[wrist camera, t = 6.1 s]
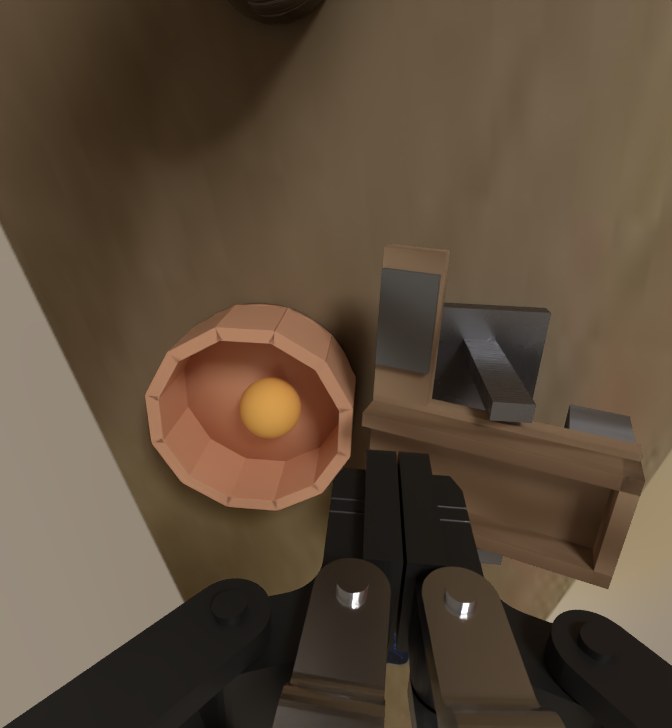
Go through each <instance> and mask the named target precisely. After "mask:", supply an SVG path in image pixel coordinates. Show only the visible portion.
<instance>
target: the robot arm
mask: <svg viewBox="0 0 672 728" xmlns="http://www.w3.org/2000/svg"><path fill="white" fill-rule="evenodd" d="M395 634H396V651H399V652H409V663H410V675H409V682H408V689H407V692H408V702H409V710H410V718H411V725H412V728H672V666H671V665H670V664H669V663H667V662H666V661H665V660H663V659H662V658H661V657H659V656H658V655H657V654H656V653H654V652H653V651H652V650H650V649H649V648H648V647H646V646H645V645H644V644H643V643H641V642H640V641H638V640H637V639H636V638H635V637H633V636H632V635H631V634H629V633H628V632H627V631H625V630H624V629H623V628H622V627H620V626H619V625H617V624H616V623H614V622H613V621H611V620H609V619H608V618H606V617H604V616H601V615H599V614H597V613H593V612H590V611H584V610H569V611H566V612H563V613H562V614H560V615H558V616H557V617H556V619H555V620H554V622H553V623H549V622H547V621H544V620H542V619H539V618H536V617H533V616H530V615H528V614H525V613H523V612H520V611H518V610H516V609H514V608H512V607H510V606H509V605H507V604H506V603H504V602H503V601H502V600H501V599H500V597H499V595H498V593H497V591H496V590H495V588H494V587H493V586H492V585H491V583H490V582H489V581H487V580H486V579H485V578H484V576H483V572H482V568H481V564H480V560H479V556H478V552H477V548H476V544H475V540H474V536H473V532H472V528H471V524H470V519H469V515H468V511H467V510H466V503H465V499H464V495H463V491H462V490H461V488H460V487H459V486H458V485H457V484H456V482H455V481H454V480H453V479H452V478H451V477H450V476H443V475H432V469H431V463H430V457H429V454H428V453H416V452H402V451H398V455H397V454H396V451H386V450H372V449H367V450H366V463H365V470H361V469H348V468H344V469H343V470H342V471H341V472H340V474H339V475H338V476H337V477H336V478H335V480H334V481H333V488H332V496H331V504H330V513H329V519H328V527H327V535H326V542H325V550H324V558H323V563H322V567H321V569H320V571H319V573H318V574H317V576H316V577H315V578H314V579H313V580H312V581H311V582H310V583H308V584H307V585H305V586H304V587H302V588H300V589H297V590H295V591H292V592H288V593H283V594H278V595H273V596H268V595H267V593H266V592H265V590H264V589H263V588H262V587H260V586H259V585H258V584H256V583H254V582H252V581H249V580H245V579H226V580H222V581H219V582H216V583H214V584H212V585H210V586H208V587H207V588H205V589H204V590H202V591H201V592H199V593H198V594H196V595H195V596H194V597H192V598H191V599H189V600H188V601H186V602H185V603H183V604H182V605H181V606H179V607H178V608H176V609H175V610H173V611H172V612H170V613H169V614H168V615H166V616H164V617H163V618H162V619H160V620H159V621H157V622H156V623H154V624H153V625H151V626H150V627H148V628H147V629H146V630H144V631H143V632H141V633H140V634H138V635H137V636H135V637H134V638H132V639H131V640H129V641H128V642H127V643H125V644H124V645H122V646H121V647H119V648H118V649H117V650H115V651H113V652H112V653H111V654H109V655H108V656H106V657H105V658H103V659H102V660H100V661H99V662H97V663H96V664H95V665H93V666H92V667H91V668H89V669H87V670H86V671H84V672H83V673H82V674H80V675H79V676H77V677H76V678H74V679H73V680H71V681H70V682H68V683H67V684H66V685H64V686H63V687H61V688H60V689H58V690H57V691H55V692H54V693H52V694H51V695H49V696H48V697H47V698H45V699H44V700H42V701H41V702H39V703H38V704H37V705H35V706H33V707H32V708H30V709H29V710H28V711H26V712H25V713H23V714H22V715H20V716H19V717H17V718H16V719H14V720H13V721H12V722H10V723H9V724H7V725H6V726H4V727H3V728H384V718H385V700H384V693H385V676H386V664H387V655H388V651H393V645H394V637H395Z"/></svg>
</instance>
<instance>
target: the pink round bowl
mask: <svg viewBox="0 0 672 728" xmlns="http://www.w3.org/2000/svg"><path fill="white" fill-rule="evenodd" d="M267 377H274V378H279V379H282V380H284V381H286V382H288V383H289V384H290V385H291V386H293V388H294V389H295V390H296V392H297V393H298V395H299V398H300V402H301V413H300V417H299V420H298V422H297V424H296V425H295V426H294V428H293V429H292V430H291V431H289V432H288V433H287V434H285V435H283V436H281V437H277V438H263V437H259V436H257V435H255V434H253V433H252V432H251V431H249V430H248V429H247V427H246V426H245V425H244V423H243V421H242V419H241V415H240V401H241V398H242V395H243V393H244V392H245V390H246V389H247V388H248V387H249V386H250V385H251V384H252V383H253V382H255V381H257V380H259V379H262V378H267ZM355 383H356V376H355V375H354V373H353V371H352V369H351V366H350V363H349V361H348V359H347V356H346V354H345V352H344V351H343V349H342V348H341V346H340V345H339V343H338V342H337V341H336V340H335V338H334V337H333V335H332V334H330V333H329V332H328V331H327V330H326V329H325V328H324V327H323V326H322V325H320V324H319V323H317V322H316V321H315V320H313V319H312V318H310V317H308V316H306V315H304V314H302V313H301V312H298V311H295V310H293V309H290V308H287V307H283V306H279V305H274V304H266V303H250V304H243V305H234V306H232V307H230V308H227V309H225V310H223V311H220V312H218V313H216V314H215V315H213V316H211V317H210V318H208V319H207V320H205V321H203V322H201V323H200V324H198V325H196V326H194V327H193V328H192V329H191V330H190V331H189V332H188V333H187V334H186V335H185V336H184V337H183V338H182V339H181V340H179V341H178V342H177V343H176V344H175V345H174V346H173V347H172V348H171V349H170V350H169V351H168V352H167V354H166V356H165V358H164V360H163V362H162V363H161V365H160V367H159V369H158V371H157V373H156V375H155V377H154V379H153V381H152V383H151V385H150V386H149V388H148V390H147V392H146V395H145V398H146V405H147V413H148V421H149V428H150V436H151V442H152V444H153V445H154V447H155V448H156V449H157V451H158V452H159V453H160V455H161V456H162V457H163V459H164V460H165V461H166V463H167V464H168V465H169V467H170V468H171V469H172V470H173V472H174V473H175V474H176V476H177V477H178V478H179V480H180V481H181V482H182V483H183V484H185V485H187V486H189V487H191V488H193V489H195V490H197V491H198V492H200V493H202V494H204V495H206V496H208V497H210V498H212V499H213V500H215V501H217V502H219V503H221V504H223V505H225V506H228V507H237V508H250V509H262V510H275V511H277V510H280V509H283V508H285V507H288V506H291V505H293V504H296V503H298V502H301V501H303V500H306V499H309V498H311V497H314V496H316V495H319V494H321V493H323V491H324V490H325V489H326V487H327V486H328V485H329V484H330V482H331V481H332V480H333V478H334V477H335V476H336V475H337V473H338V472H339V471H340V469H341V468H342V467H343V466H344V464H345V463H346V462H347V460H348V459H349V458H350V454H351V442H352V431H353V418H354V401H355Z"/></svg>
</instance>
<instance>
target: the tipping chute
mask: <svg viewBox="0 0 672 728" xmlns="http://www.w3.org/2000/svg"><path fill="white" fill-rule="evenodd" d="M449 258H450V250H444V249H435V248H425V247H416V246H407V245H398V244H389V245H387V246H385V247H384V258H383V269H382V277H381V291H380V305H379V318H378V332H377V346H376V360H375V364H376V367H375V381H374V395H373V401H372V402H371V403H370V404H369V406H368V407H367V408H366V409H365V410H364V412H363V415H362V426H364V427H368V428H371V436H370V449H372V450H386V451H396V454H397V455H398V451H402V452H416V453H428V454H429V457H430V463H431V469H432V475H443V476H450V477H451V478H452V479H453V480H454V481H455V482H456V484H457V485H458V486H459V487H460V488H461V490H462V491H463V495H464V499H465V503H466V510H467V511H468V515H469V519H470V524H471V528H472V532H473V536H474V540H475V544H476V547H477V548H480V549H483V550H486V551H489V552H493V553H496V554H499V555H502V556H505V557H508V558H511V559H515V560H518V561H521V562H524V563H527V564H530V565H533V566H537V567H540V568H543V569H546V570H549V571H552V572H555V573H559V574H562V575H565V576H568V577H571V578H574V579H577V580H581V581H584V582H587V583H590V584H593V585H596V586H600V587H603V588H606V589H608V588H609V585H610V582H611V579H612V576H613V573H614V570H615V567H616V565H617V562H618V558H619V555H620V553H621V550H622V547H623V544H624V541H625V538H626V535H627V532H628V530H629V527H630V524H631V520H632V518H633V515H634V512H635V509H636V506H637V503H638V500H639V497H640V495H641V492H642V489H643V486H644V483H645V478H644V474H643V469H642V465H641V460H642V457H643V453H642V449H641V445H640V444H636V443H635V439H634V434H633V429H632V425H631V420H630V416H625V415H620V414H615V413H610V412H605V411H600V410H595V409H590V408H585V407H580V406H575V405H570V406H569V410H568V414H567V418H566V422H565V426H564V428H563V427H558V426H554V425H549V424H544V423H540V422H535V421H532V423H523V422H508V421H493V420H489V417H488V415H487V413H486V411H485V410H481V409H476V408H472V407H467V406H462V405H458V404H453V403H449V402H444V401H440V400H435V399H432V393H433V385H434V377H435V369H436V361H437V353H438V345H439V338H440V330H441V322H442V314H443V306H444V298H445V290H446V282H447V274H448V266H449Z"/></svg>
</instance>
